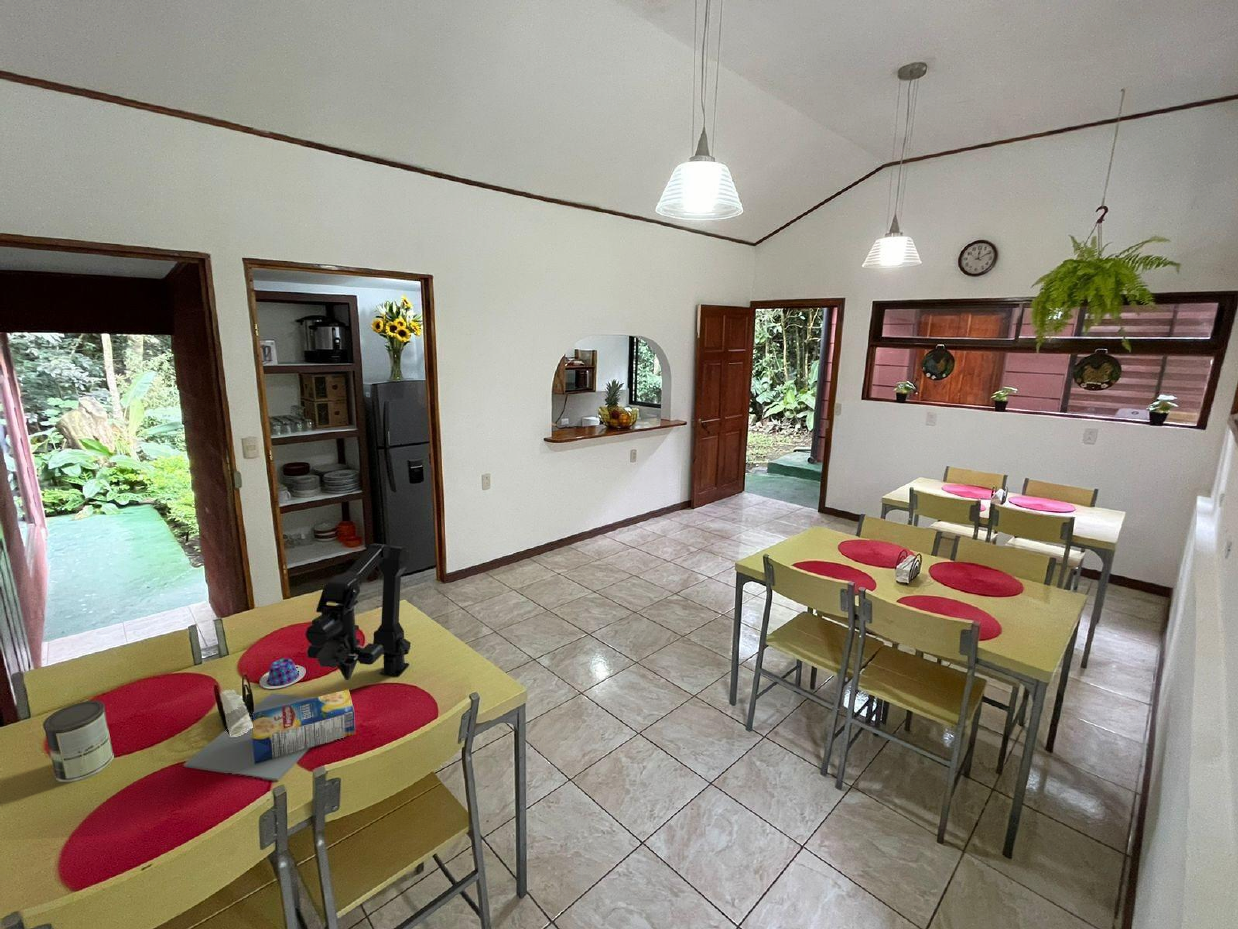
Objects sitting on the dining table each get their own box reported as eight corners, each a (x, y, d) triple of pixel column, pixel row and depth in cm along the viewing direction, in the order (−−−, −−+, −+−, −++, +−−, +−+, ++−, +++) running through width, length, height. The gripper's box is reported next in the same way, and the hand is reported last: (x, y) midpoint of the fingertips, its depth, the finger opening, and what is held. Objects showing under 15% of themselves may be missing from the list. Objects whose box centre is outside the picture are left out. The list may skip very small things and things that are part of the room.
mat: (271, 694, 160) (271, 693, 160) (351, 705, 157) (351, 703, 157) (183, 766, 133) (183, 764, 133) (278, 781, 130) (277, 779, 130)
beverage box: (355, 735, 145) (254, 764, 134) (349, 711, 154) (254, 736, 143) (354, 711, 144) (252, 739, 132) (348, 689, 153) (252, 713, 141)
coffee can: (41, 784, 127) (29, 730, 124) (80, 751, 137) (69, 700, 134) (90, 782, 128) (79, 728, 125) (125, 749, 138) (115, 699, 135)
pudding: (293, 663, 177) (291, 648, 175) (313, 676, 170) (312, 660, 169) (252, 681, 167) (250, 665, 166) (272, 696, 160) (269, 679, 159)
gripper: (289, 638, 140) (295, 693, 144) (357, 646, 137) (362, 702, 141) (318, 617, 151) (324, 669, 154) (382, 624, 148) (386, 676, 152)
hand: (348, 679), depth 150 cm, fingers closed
